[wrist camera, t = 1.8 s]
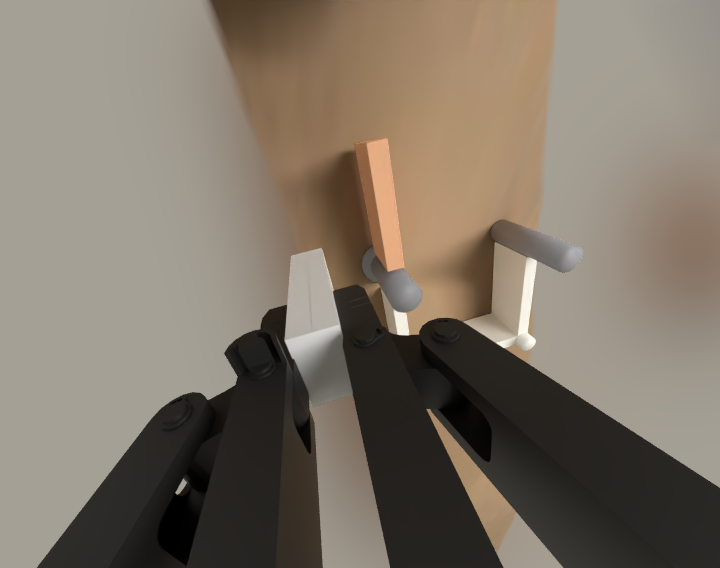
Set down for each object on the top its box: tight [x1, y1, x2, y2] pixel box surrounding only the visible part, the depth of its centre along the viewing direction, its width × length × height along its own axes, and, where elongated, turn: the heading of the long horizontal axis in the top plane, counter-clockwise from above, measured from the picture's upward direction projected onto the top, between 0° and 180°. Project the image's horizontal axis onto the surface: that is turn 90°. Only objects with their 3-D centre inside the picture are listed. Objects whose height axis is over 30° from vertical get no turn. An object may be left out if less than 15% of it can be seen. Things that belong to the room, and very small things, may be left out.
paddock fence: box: [361, 220, 583, 350], centre depth 28 cm, size 15×17×9 cm
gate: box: [354, 138, 422, 313], centre depth 23 cm, size 13×3×7 cm, turn 11°
